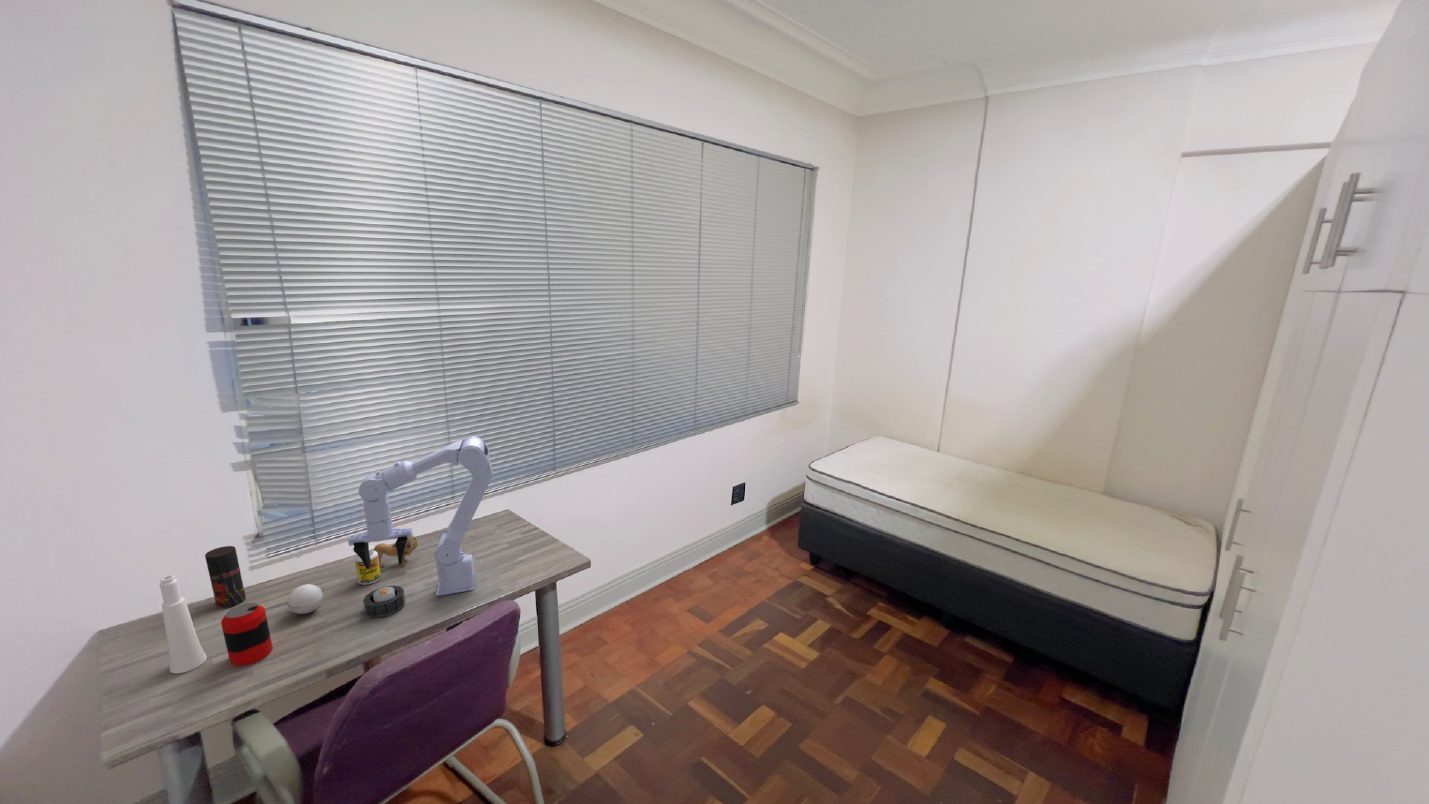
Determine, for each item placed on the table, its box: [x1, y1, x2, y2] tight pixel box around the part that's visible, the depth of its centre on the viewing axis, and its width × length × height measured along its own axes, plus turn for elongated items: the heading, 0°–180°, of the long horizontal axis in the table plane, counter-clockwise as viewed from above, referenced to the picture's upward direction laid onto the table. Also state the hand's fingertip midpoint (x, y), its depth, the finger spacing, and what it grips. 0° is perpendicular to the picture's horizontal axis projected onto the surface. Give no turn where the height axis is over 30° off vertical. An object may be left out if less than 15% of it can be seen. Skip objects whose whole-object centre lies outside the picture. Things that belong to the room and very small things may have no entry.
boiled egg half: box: [373, 586, 395, 603], centre depth 142 cm, size 5×5×4 cm
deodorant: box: [204, 545, 247, 610], centre depth 142 cm, size 6×6×15 cm
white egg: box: [278, 583, 324, 615], centre depth 138 cm, size 10×7×7 cm
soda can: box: [220, 602, 273, 667], centre depth 123 cm, size 8×8×12 cm
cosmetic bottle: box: [159, 574, 208, 675], centre depth 118 cm, size 6×6×22 cm
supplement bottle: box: [354, 544, 382, 586], centre depth 153 cm, size 6×6×10 cm
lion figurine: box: [374, 535, 419, 569], centre depth 162 cm, size 15×5×9 cm, turn 103°
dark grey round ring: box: [362, 585, 406, 619], centre depth 142 cm, size 9×9×4 cm
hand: (384, 564), depth 145 cm, fingers open, 7 cm apart
